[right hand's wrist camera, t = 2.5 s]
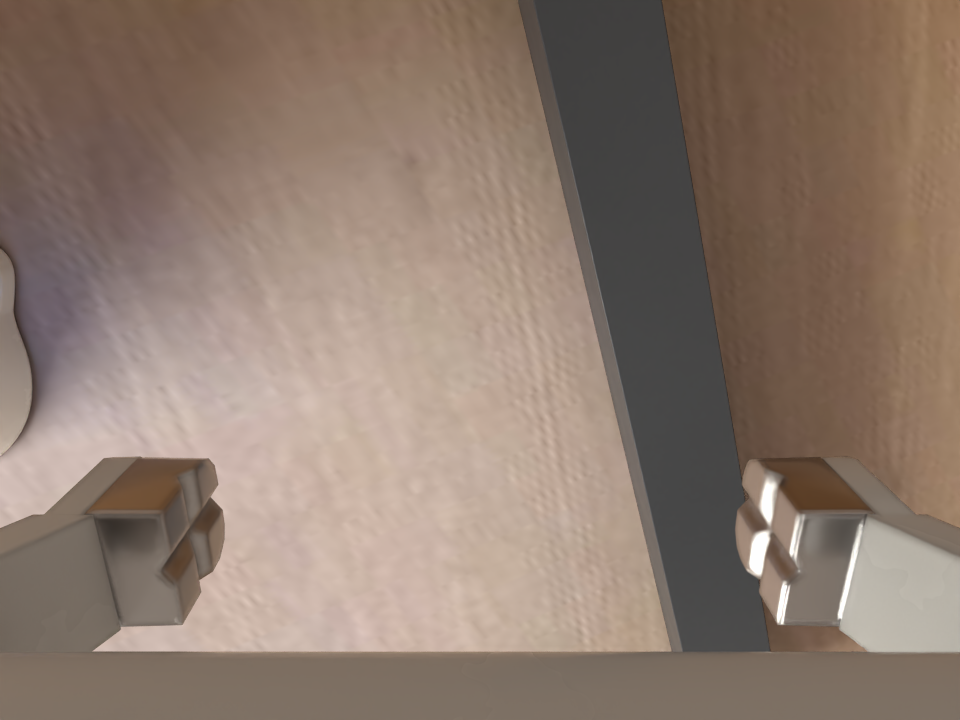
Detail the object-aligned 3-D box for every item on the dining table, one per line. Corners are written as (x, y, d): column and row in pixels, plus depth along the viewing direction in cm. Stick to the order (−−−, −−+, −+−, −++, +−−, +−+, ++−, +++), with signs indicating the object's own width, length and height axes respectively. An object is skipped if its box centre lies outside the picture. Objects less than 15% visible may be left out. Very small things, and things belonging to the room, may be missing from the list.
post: (467, -212, 28) (469, -278, 23) (581, -251, 28) (607, -326, 23) (681, 692, 47) (707, 761, 42) (751, 676, 47) (786, 743, 42)
